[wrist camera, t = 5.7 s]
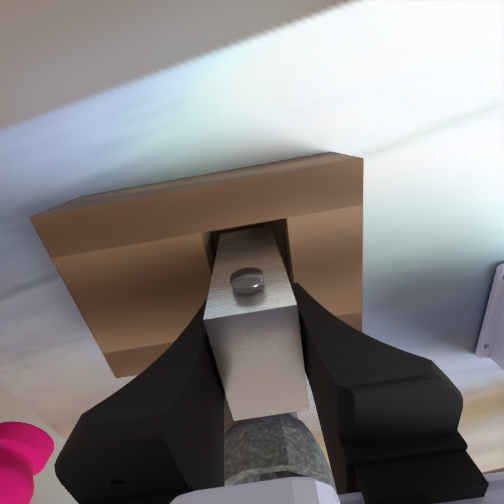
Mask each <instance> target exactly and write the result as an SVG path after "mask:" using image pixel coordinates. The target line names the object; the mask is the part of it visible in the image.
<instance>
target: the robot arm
mask: <svg viewBox="0 0 504 504" xmlns="http://www.w3.org/2000/svg"><path fill="white" fill-rule="evenodd" d="M290 285H291V288H292V291H293V294H294V297H295V300H296V303H297V308H298V316H299V325H300V334H301V342H302V351H303V359H304V368H305V372H306V375H307V378H308V380H309V384H310V387H311V390H312V394H313V397H314V401H315V405H316V409H317V413H318V417H319V421H320V425H321V429H322V433H323V437H324V441H325V446H326V450H327V454H328V458H329V462H330V466H331V470H332V475H333V479H334V483H335V487H336V492H337V494H336V492H335V490H334V489H333V487H332V486H331V485H329V484H328V483H326V482H324V481H321V480H318V479H316V478H313V477H287V478H280V479H273V480H266V481H259V482H252V483H245V484H238V485H231V486H224V399H225V391H224V387H223V384H222V381H221V377H220V374H219V371H218V367H217V364H216V361H215V357H214V354H213V351H212V348H211V344H210V341H209V338H208V334H207V331H206V328H205V324H204V321H203V318H204V313H205V308H206V303H207V299H206V300H205V302H204V303H203V305H202V306H201V307H200V309H199V310H198V312H197V313H196V315H195V316H194V317H193V319H192V320H191V321H190V323H189V324H188V325H187V327H186V328H185V329H184V331H183V332H182V333H181V334H180V335H179V337H178V338H177V339H176V340H175V341H174V342H173V344H172V345H171V346H170V347H169V348H168V349H167V350H166V351H165V352H164V353H163V354H162V355H161V356H160V357H159V358H158V359H157V360H155V361H154V362H153V363H152V364H151V365H150V366H149V367H147V368H146V369H145V370H144V371H143V372H142V373H141V374H139V375H138V376H137V377H136V378H134V379H133V380H132V381H130V382H129V383H128V384H126V385H125V386H124V387H122V388H121V389H120V390H118V391H117V392H115V393H114V394H113V395H111V396H110V397H108V398H107V399H105V400H103V401H102V402H100V403H99V404H97V405H96V406H94V407H93V408H91V409H90V410H88V411H86V412H85V413H83V414H82V415H81V417H80V419H79V420H78V422H77V424H76V425H75V427H74V429H73V431H72V433H71V434H70V436H69V438H68V440H67V442H66V443H65V445H64V447H63V449H62V450H61V452H60V454H59V456H58V458H57V460H56V463H55V473H56V476H57V478H58V479H59V481H60V483H61V484H62V485H63V486H64V487H65V488H66V490H67V491H68V492H69V493H70V494H71V495H72V496H73V498H74V499H75V500H76V501H77V502H78V503H79V504H504V472H498V473H492V474H484V475H483V474H482V473H481V471H480V470H479V469H478V467H477V466H476V464H475V463H474V462H473V460H472V459H471V457H470V456H469V455H468V453H467V452H466V450H467V447H468V446H467V444H466V442H465V440H464V439H463V438H462V436H461V435H460V433H459V432H458V431H457V428H458V424H459V420H460V416H461V412H462V408H463V398H462V395H461V393H460V391H459V390H458V389H457V387H456V386H455V385H454V384H453V383H452V382H451V380H450V379H449V378H448V377H447V376H446V375H445V374H444V373H443V371H441V370H440V369H439V368H438V367H437V366H436V365H435V364H434V363H433V362H432V361H431V360H429V359H426V358H423V357H420V356H417V355H414V354H411V353H408V352H405V351H402V350H400V349H397V348H395V347H392V346H390V345H387V344H385V343H382V342H380V341H378V340H376V339H374V338H372V337H370V336H368V335H366V334H364V333H362V332H360V331H358V330H356V329H355V328H353V327H351V326H350V325H348V324H346V323H345V322H343V321H342V320H340V319H339V318H337V317H336V316H335V315H333V314H332V313H331V312H329V311H328V310H327V309H326V308H324V307H323V306H322V305H321V304H320V303H319V302H317V301H316V300H315V299H314V298H313V297H312V296H311V295H310V294H309V293H308V292H307V291H306V290H305V289H304V288H303V287H302V286H301V285H300V284H299V283H292V284H290ZM475 354H476V356H477V357H478V358H480V359H484V358H491V359H492V360H493V361H494V362H495V363H496V364H498V365H499V366H500V367H501V368H502V369H503V370H504V263H503V264H501V265H499V266H498V267H497V269H496V273H495V277H494V281H493V285H492V289H491V293H490V297H489V301H488V305H487V308H486V312H485V316H484V320H483V324H482V328H481V332H480V336H479V340H478V344H477V348H476V352H475Z"/></svg>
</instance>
